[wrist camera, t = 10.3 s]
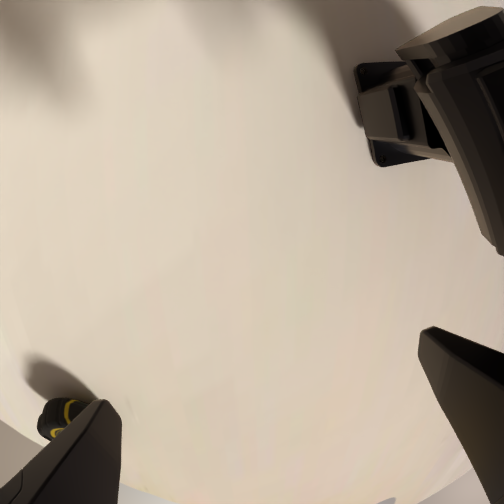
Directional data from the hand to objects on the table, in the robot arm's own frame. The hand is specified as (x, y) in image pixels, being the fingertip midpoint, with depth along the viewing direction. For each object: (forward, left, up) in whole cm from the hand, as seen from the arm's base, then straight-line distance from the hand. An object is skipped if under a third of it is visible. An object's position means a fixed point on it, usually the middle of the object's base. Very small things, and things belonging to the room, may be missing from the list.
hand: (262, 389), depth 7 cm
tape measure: (+23, +12, -12) cm, 29 cm away
